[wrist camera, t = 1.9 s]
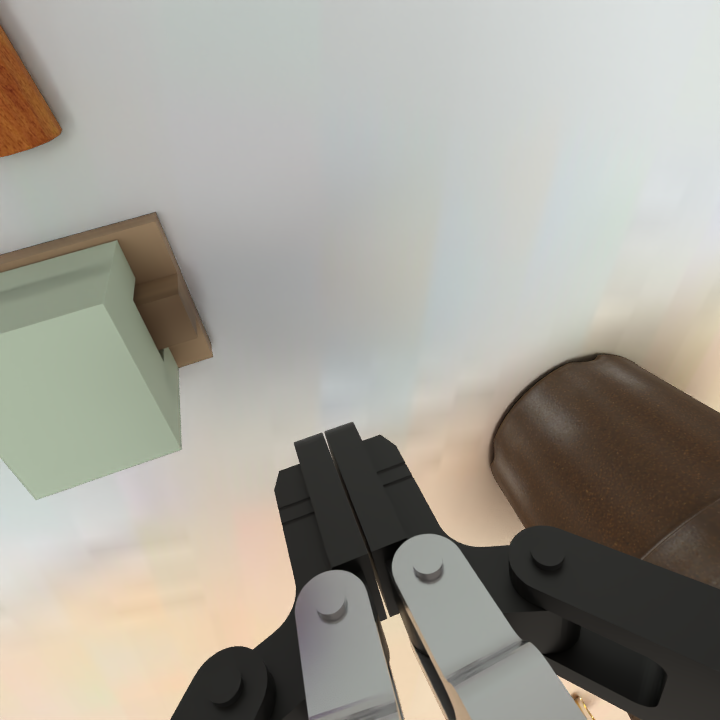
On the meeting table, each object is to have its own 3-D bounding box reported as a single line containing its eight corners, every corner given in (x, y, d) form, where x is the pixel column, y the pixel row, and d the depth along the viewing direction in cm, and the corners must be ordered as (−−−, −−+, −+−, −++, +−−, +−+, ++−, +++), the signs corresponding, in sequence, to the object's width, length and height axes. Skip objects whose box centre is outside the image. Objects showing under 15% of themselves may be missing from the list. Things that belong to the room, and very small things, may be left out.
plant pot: (709, 369, 37) (999, 552, 24) (567, 526, 43) (743, 745, 30) (571, 283, 29) (896, 488, 16) (416, 491, 34) (568, 771, 22)
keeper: (-24, 279, 19) (-83, 358, 14) (116, 240, 19) (102, 303, 15) (61, 405, 22) (35, 500, 18) (178, 367, 23) (181, 449, 18)
